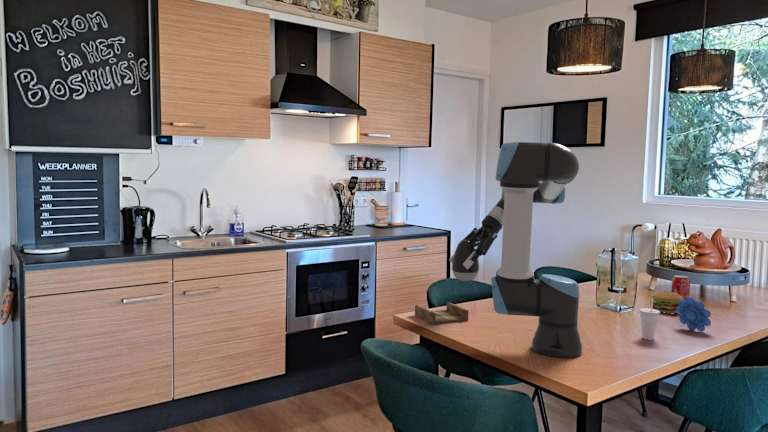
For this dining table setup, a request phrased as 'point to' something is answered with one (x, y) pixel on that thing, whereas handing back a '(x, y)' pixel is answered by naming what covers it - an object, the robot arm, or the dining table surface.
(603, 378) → the dining table surface
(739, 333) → the dining table surface
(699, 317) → the blue gear
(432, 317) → the track
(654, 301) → the food
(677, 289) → the soda can
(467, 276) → the pump dispenser
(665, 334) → the dining table surface
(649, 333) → the smoothie
